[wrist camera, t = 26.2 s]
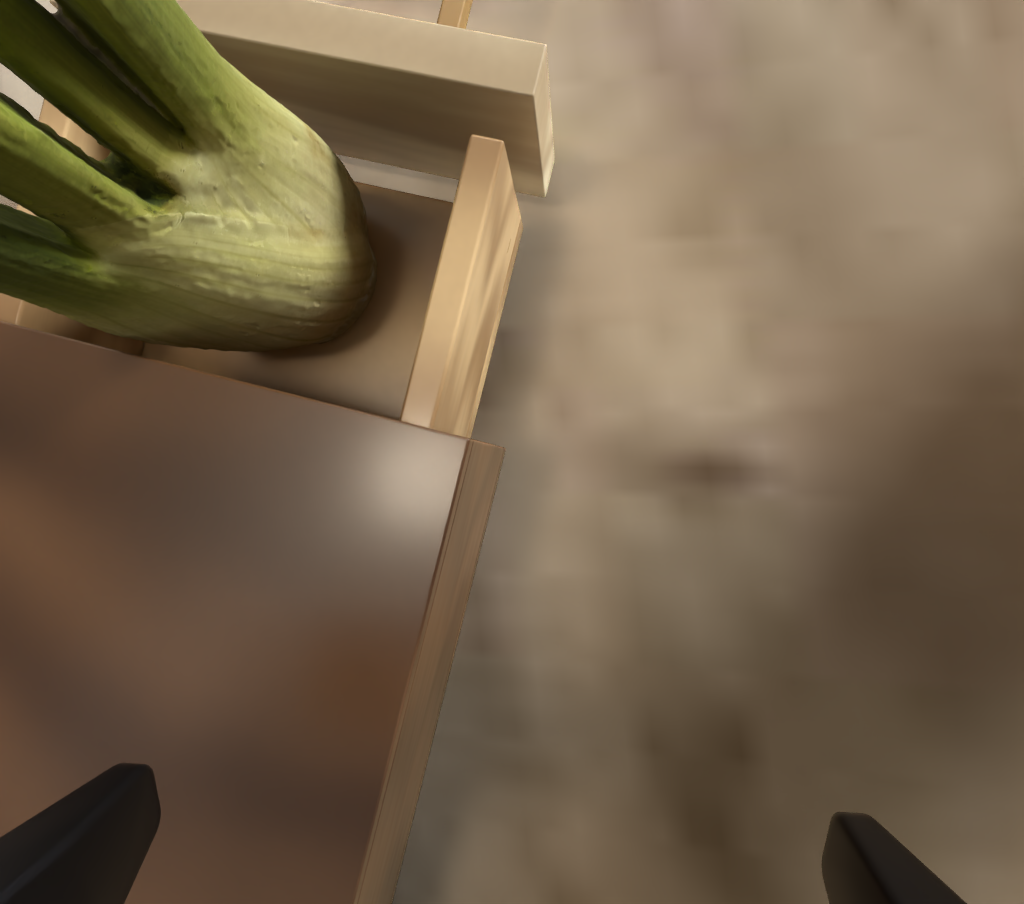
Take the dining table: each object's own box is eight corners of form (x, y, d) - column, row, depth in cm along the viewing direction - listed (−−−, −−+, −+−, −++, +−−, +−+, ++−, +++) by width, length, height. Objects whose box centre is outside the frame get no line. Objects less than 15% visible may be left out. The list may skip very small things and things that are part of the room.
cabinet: (126, 352, 22) (-84, 300, 15) (505, 448, 21) (470, 438, 14) (16, 793, 22) (-245, 945, 15) (388, 915, 21) (293, 1144, 14)
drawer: (231, -61, 21) (110, -246, 16) (594, 4, 20) (600, -172, 14) (86, 519, 21) (-86, 537, 16) (440, 618, 20) (389, 675, 14)
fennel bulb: (240, 392, 20) (-278, 278, 8) (186, 240, 20) (-395, -96, 8) (420, 320, 19) (163, 79, 7) (362, 165, 19) (23, -313, 8)
